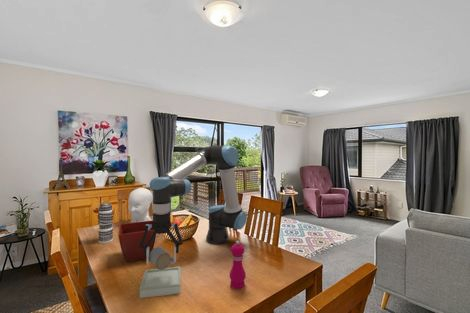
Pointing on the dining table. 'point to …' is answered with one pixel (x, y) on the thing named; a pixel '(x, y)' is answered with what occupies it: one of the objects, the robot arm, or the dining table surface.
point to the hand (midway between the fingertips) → (161, 261)
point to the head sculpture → (140, 204)
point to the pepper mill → (237, 267)
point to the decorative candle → (105, 223)
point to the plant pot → (134, 240)
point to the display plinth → (160, 282)
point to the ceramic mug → (160, 258)
